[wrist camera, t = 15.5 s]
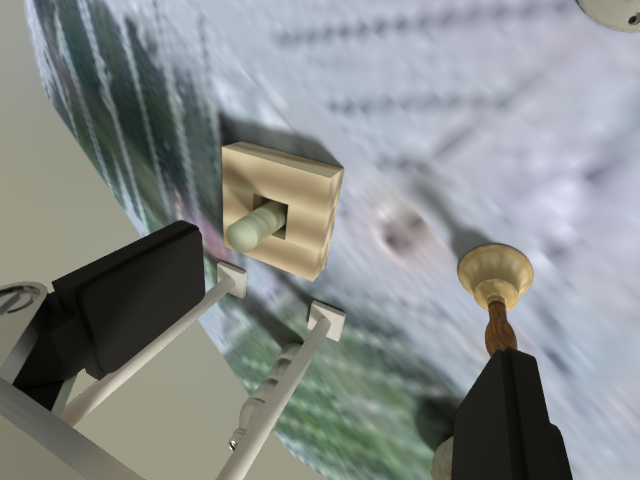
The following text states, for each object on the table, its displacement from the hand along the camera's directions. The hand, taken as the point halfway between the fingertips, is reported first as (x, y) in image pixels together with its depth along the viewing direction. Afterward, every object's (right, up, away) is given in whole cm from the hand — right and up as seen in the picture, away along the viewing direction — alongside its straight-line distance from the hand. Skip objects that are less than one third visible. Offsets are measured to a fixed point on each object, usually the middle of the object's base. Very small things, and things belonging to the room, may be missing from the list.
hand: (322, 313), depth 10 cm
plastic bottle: (-4, -20, +52) cm, 56 cm away
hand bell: (+22, -2, +30) cm, 37 cm away
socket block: (-5, +8, +38) cm, 40 cm away
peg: (-5, +7, +38) cm, 39 cm away
